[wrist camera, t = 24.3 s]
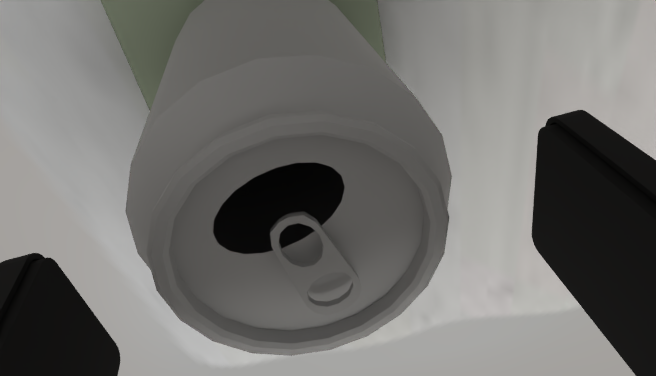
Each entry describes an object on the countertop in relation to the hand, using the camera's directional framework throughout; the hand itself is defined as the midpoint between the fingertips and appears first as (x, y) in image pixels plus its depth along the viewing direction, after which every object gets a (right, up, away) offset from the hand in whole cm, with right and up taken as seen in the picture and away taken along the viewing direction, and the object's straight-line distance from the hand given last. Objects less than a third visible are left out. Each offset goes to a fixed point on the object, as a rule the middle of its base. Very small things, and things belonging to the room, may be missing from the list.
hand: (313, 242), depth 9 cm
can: (-2, +6, +11) cm, 12 cm away
